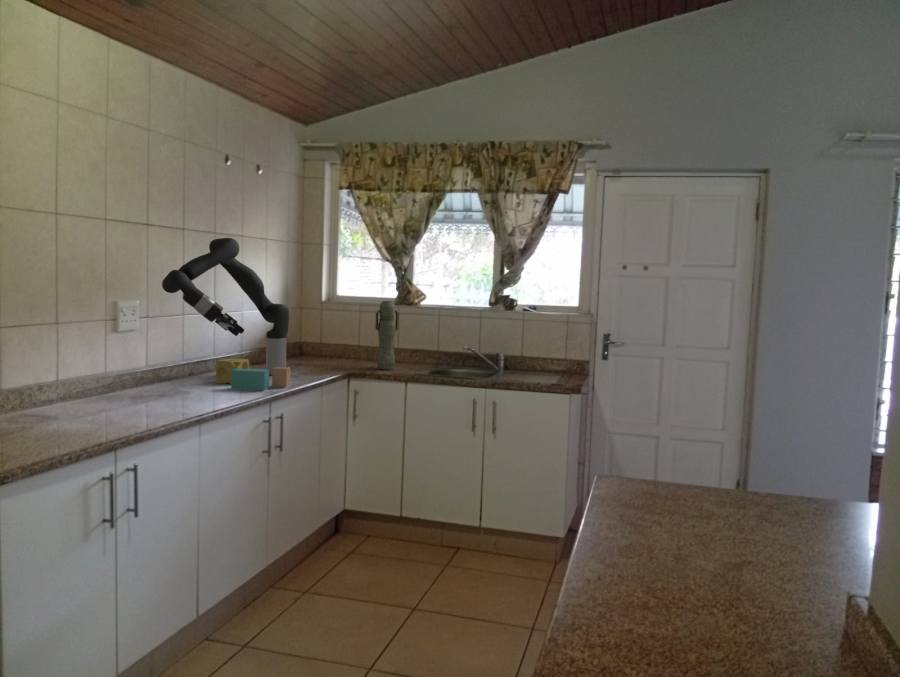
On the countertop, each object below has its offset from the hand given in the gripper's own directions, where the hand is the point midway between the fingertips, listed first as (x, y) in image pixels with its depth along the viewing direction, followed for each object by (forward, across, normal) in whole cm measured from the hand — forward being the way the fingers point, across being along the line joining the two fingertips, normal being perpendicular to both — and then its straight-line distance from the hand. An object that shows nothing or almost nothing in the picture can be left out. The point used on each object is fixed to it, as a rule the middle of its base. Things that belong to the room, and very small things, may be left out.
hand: (240, 333), depth 293 cm
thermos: (+74, +41, -42) cm, 95 cm away
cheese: (+13, +19, +15) cm, 27 cm away
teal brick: (+17, 0, +16) cm, 23 cm away
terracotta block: (+27, +2, +7) cm, 28 cm away
